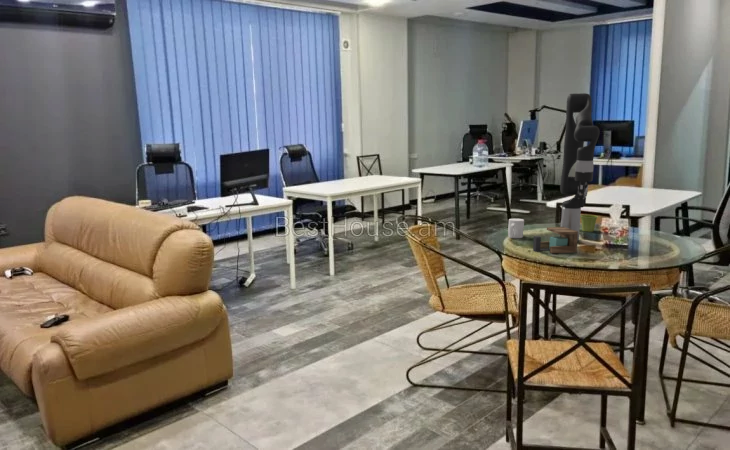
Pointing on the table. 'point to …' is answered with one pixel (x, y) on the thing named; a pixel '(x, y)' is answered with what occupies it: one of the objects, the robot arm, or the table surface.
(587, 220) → the plant pot
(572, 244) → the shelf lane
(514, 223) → the mug
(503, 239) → the table surface
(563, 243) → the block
